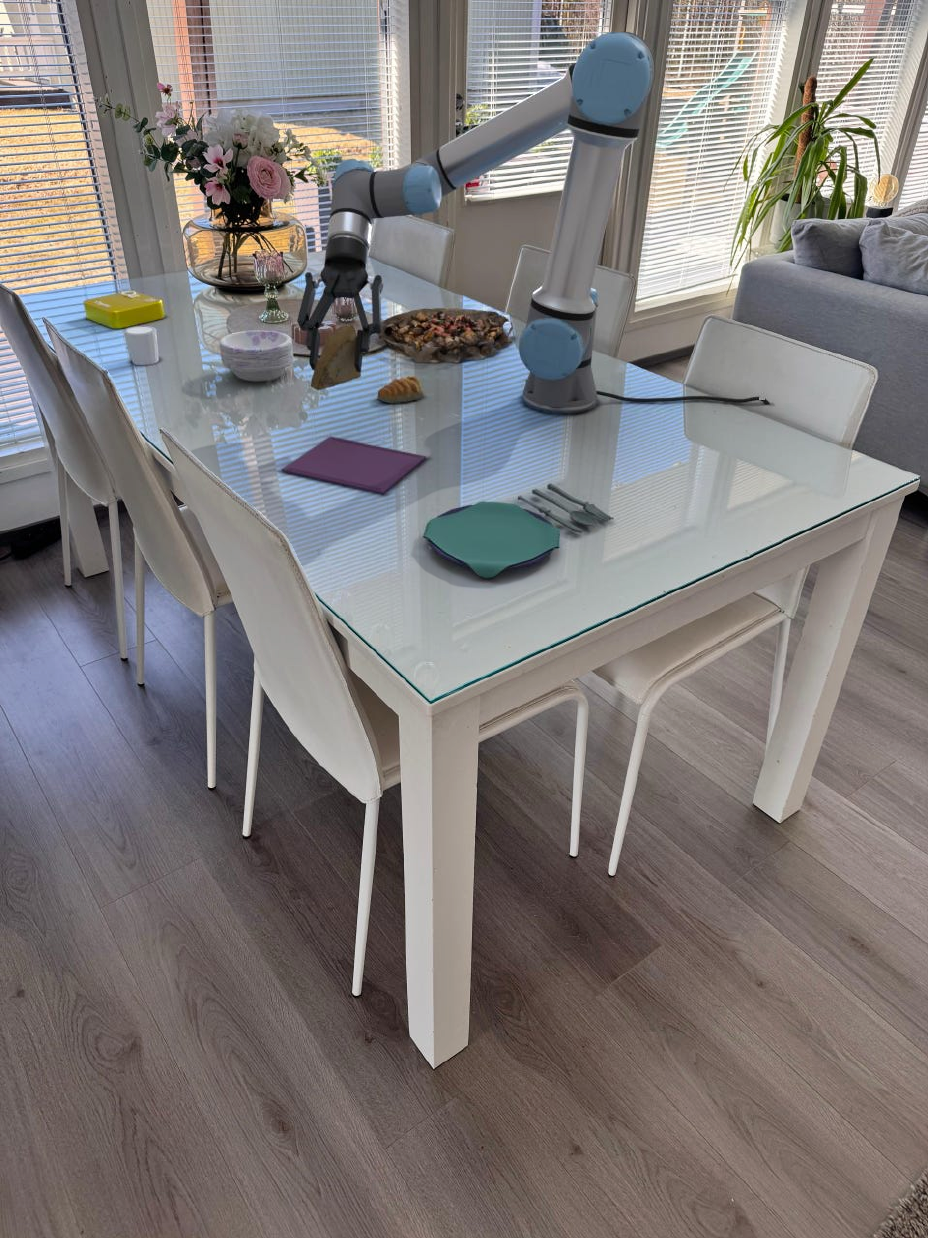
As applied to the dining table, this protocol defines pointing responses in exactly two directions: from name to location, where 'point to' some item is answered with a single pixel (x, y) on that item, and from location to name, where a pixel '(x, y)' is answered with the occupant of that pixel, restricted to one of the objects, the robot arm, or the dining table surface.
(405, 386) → the pastry
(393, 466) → the cloth
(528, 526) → the cutlery set
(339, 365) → the rock
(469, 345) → the food dish
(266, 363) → the paper bowls
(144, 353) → the white cylinder
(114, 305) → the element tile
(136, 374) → the dining table surface
